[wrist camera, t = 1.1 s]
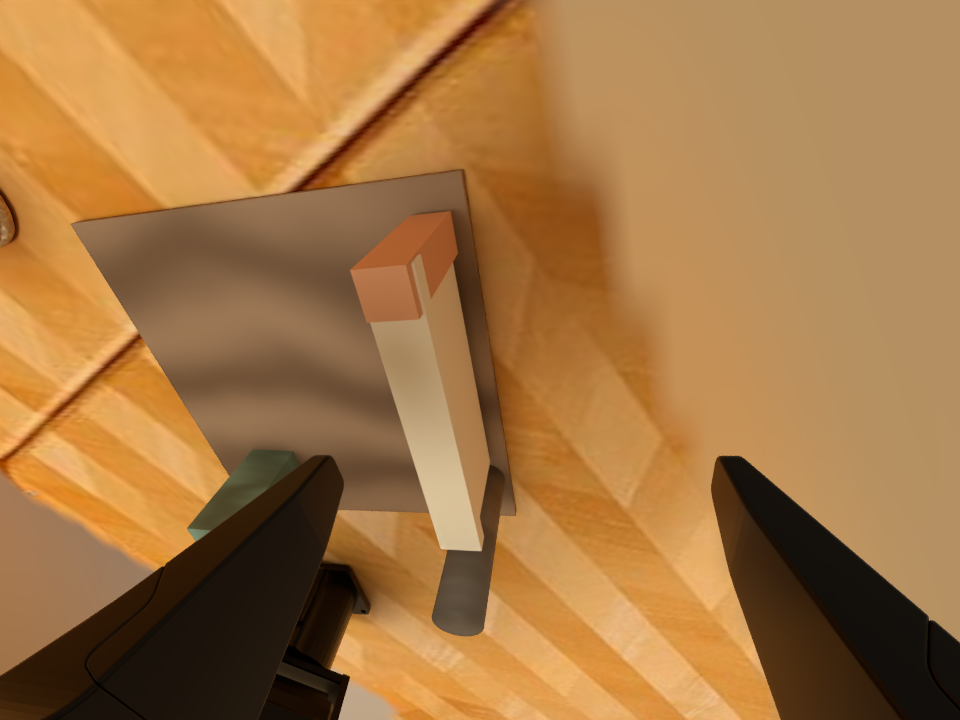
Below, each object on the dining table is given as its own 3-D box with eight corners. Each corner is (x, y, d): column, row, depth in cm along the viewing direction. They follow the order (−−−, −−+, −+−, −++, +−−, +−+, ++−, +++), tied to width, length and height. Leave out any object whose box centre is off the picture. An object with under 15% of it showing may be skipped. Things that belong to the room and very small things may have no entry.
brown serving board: (516, 510, 29) (499, 663, 21) (252, 502, 33) (161, 626, 25) (462, 169, 18) (390, 236, 10) (77, 221, 22) (-171, 296, 15)
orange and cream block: (496, 461, 25) (480, 559, 20) (463, 461, 26) (439, 556, 21) (452, 210, 18) (408, 264, 13) (407, 216, 18) (346, 270, 13)
